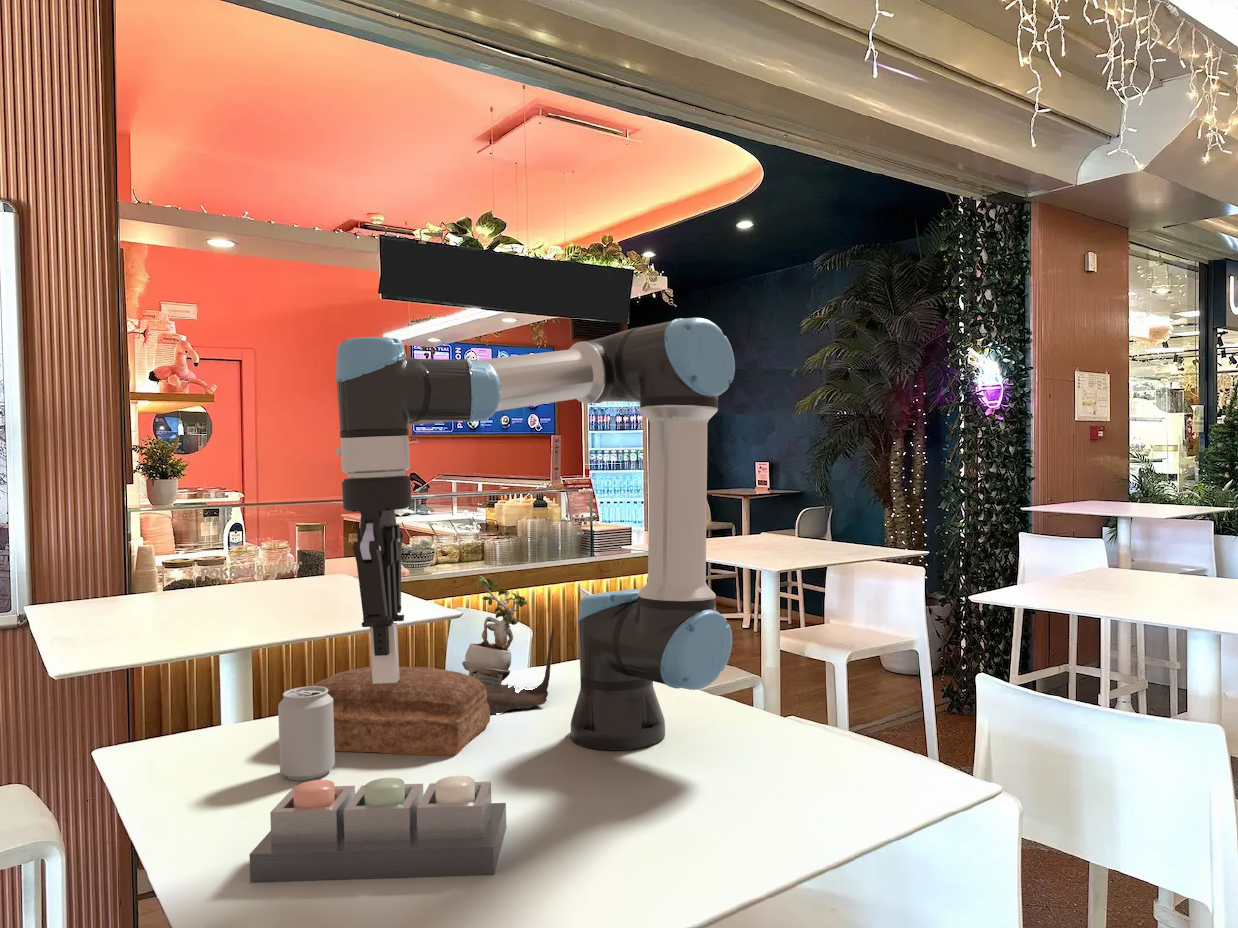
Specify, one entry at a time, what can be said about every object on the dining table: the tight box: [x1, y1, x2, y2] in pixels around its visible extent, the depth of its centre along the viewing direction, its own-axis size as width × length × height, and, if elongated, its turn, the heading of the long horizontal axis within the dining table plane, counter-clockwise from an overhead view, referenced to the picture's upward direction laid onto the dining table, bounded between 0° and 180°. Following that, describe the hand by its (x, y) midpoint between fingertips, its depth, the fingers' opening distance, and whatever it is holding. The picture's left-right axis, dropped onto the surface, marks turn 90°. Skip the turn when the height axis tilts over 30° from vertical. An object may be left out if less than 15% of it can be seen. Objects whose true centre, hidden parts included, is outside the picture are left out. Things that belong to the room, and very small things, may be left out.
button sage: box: [364, 777, 405, 806], centre depth 100 cm, size 4×4×4 cm
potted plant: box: [461, 575, 555, 715], centre depth 165 cm, size 20×19×25 cm
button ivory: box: [434, 775, 475, 804], centre depth 100 cm, size 4×4×4 cm
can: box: [277, 685, 336, 782], centre depth 127 cm, size 8×8×12 cm
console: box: [248, 781, 507, 883], centre depth 100 cm, size 26×12×6 cm, turn 91°
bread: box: [311, 665, 491, 756], centre depth 142 cm, size 17×29×11 cm, turn 79°
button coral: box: [292, 779, 335, 808], centre depth 100 cm, size 4×4×4 cm
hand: (386, 681), depth 100 cm, fingers closed
